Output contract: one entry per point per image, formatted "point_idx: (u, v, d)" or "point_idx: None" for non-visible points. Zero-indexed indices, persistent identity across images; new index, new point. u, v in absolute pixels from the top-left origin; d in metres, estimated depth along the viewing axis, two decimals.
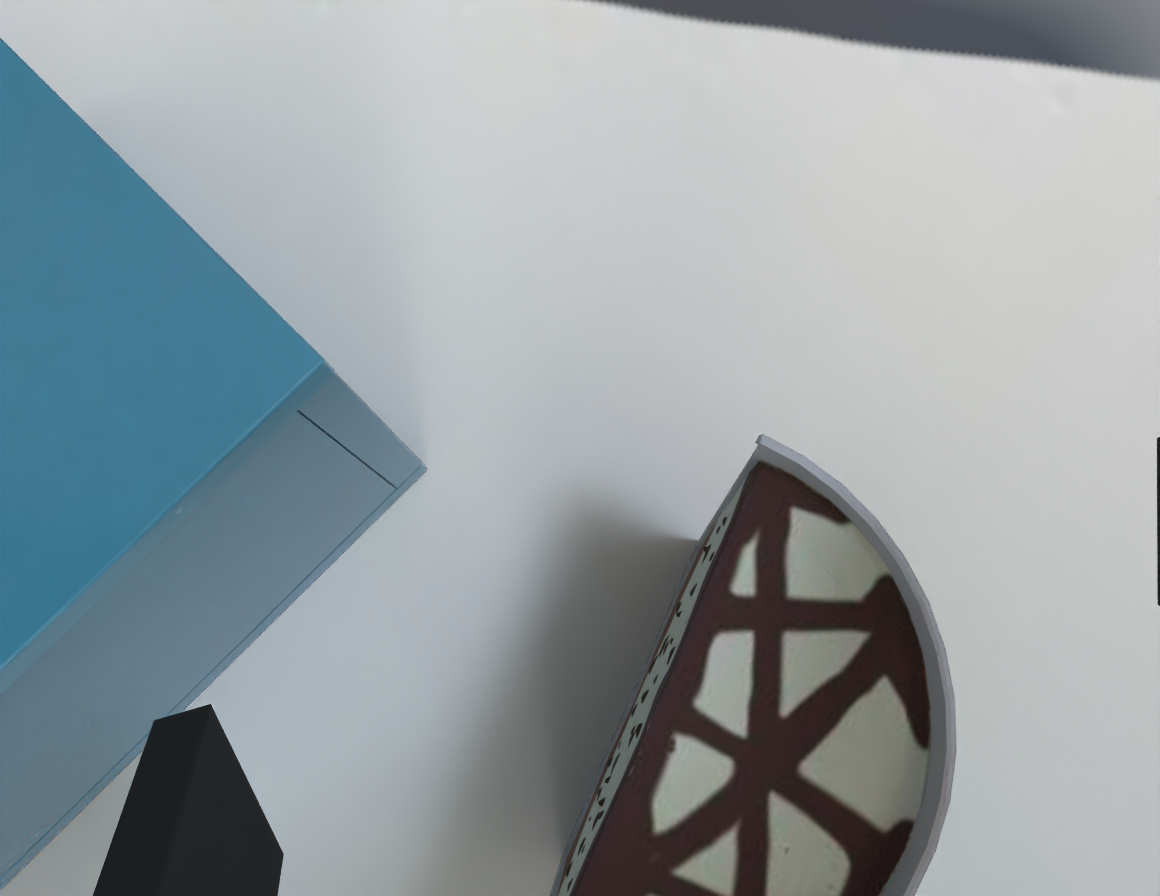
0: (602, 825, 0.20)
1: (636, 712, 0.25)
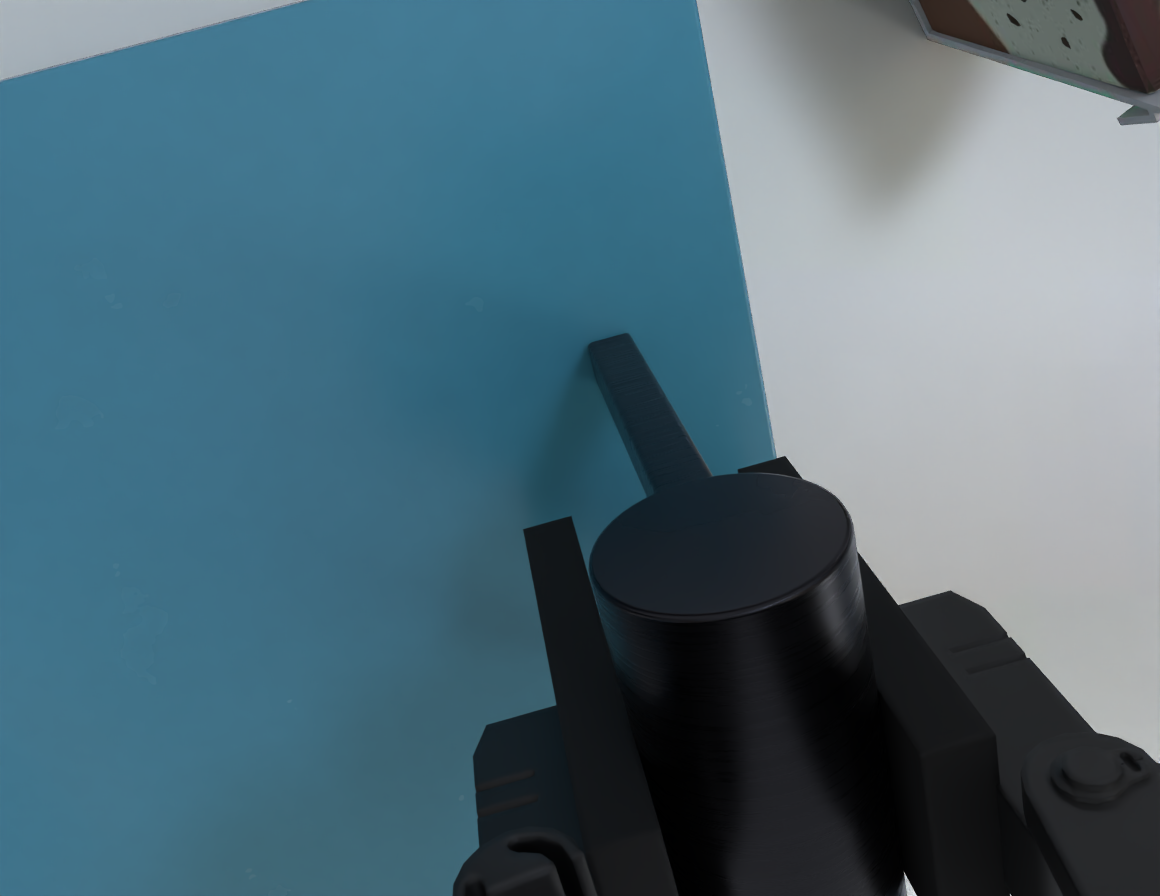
0: None
1: None
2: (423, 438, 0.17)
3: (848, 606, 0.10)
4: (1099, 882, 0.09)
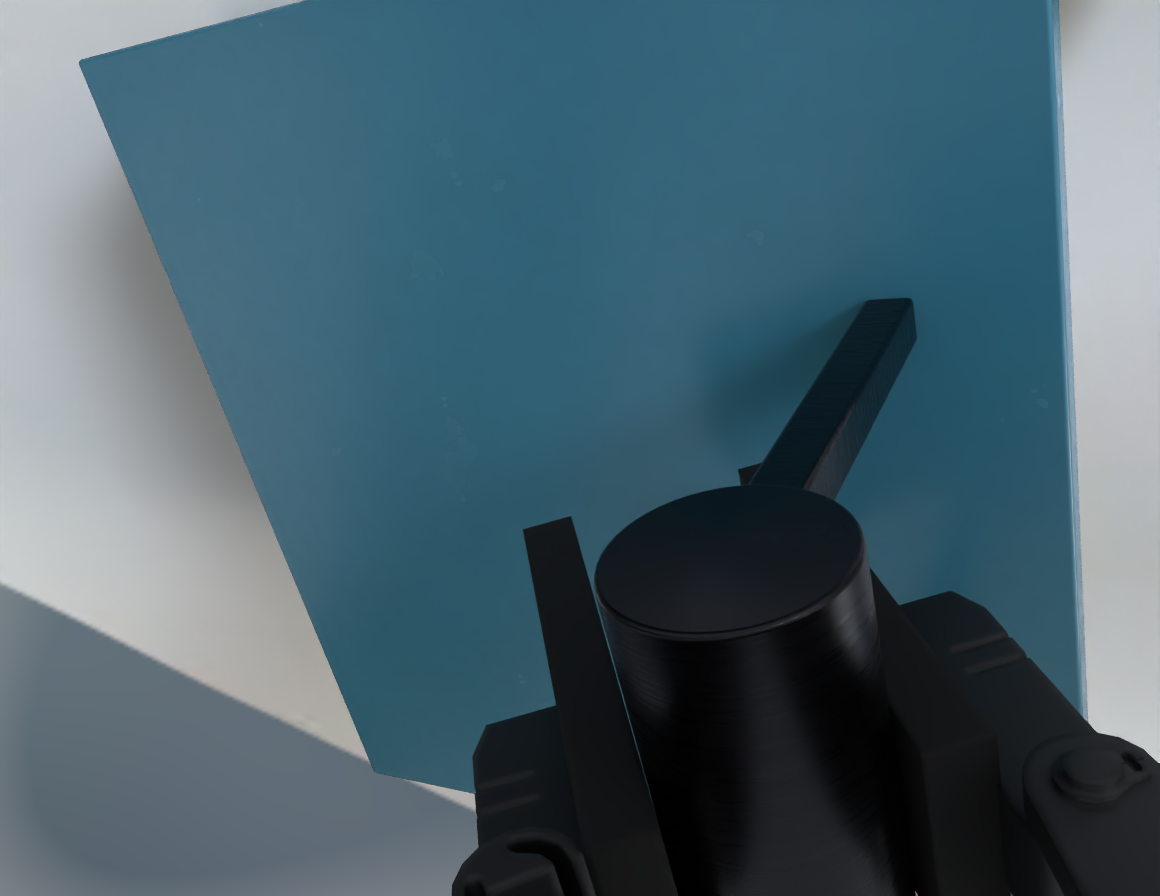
0: None
1: None
2: (693, 356, 0.17)
3: (802, 669, 0.09)
4: (1100, 882, 0.09)
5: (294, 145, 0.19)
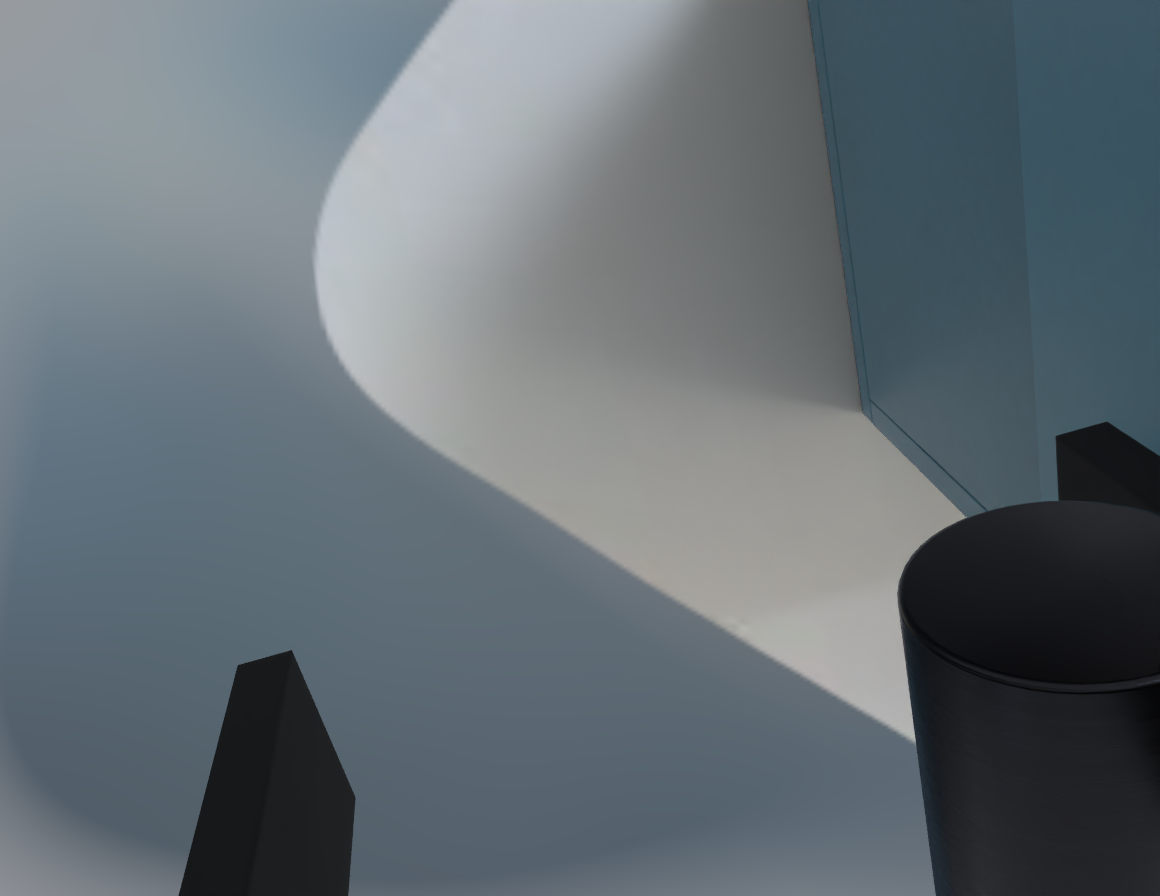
0: None
1: None
2: None
3: (1015, 738, 0.08)
4: None
5: None
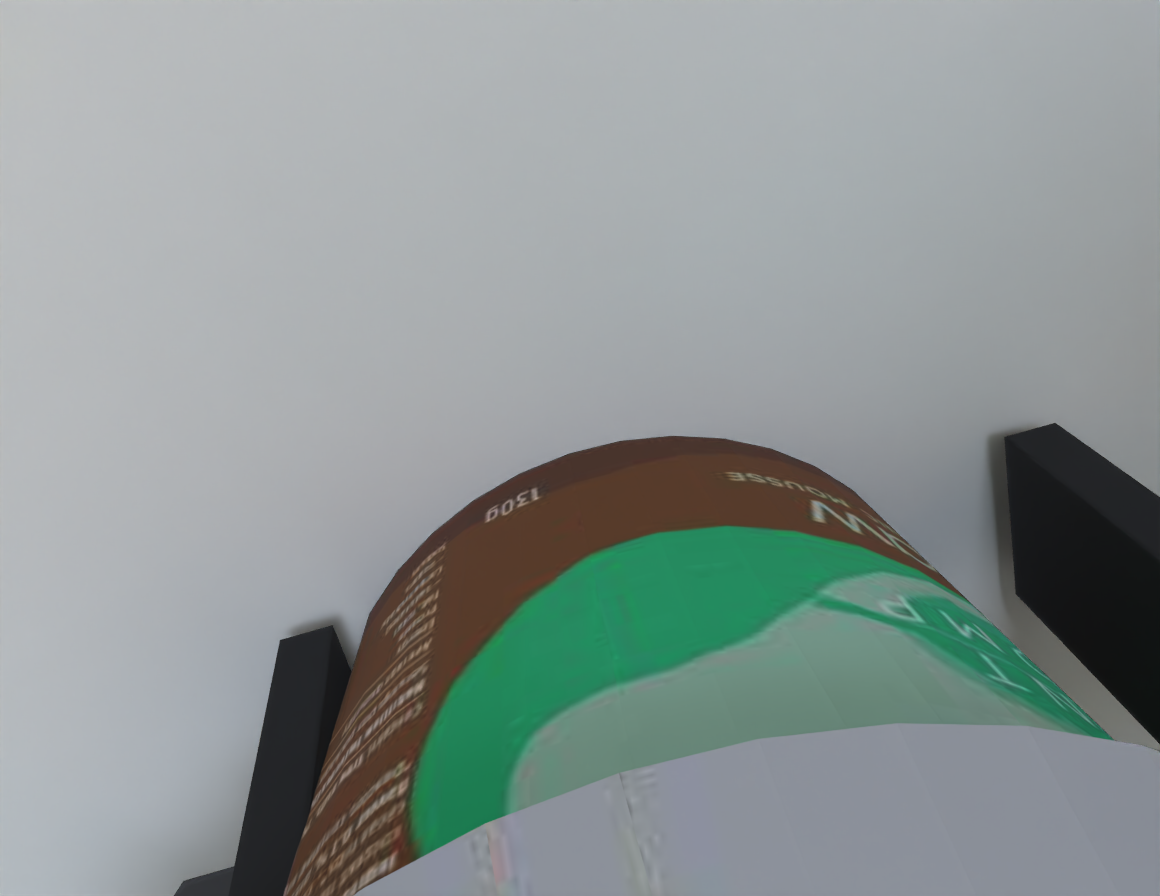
0: None
1: None
2: None
3: None
4: None
5: None
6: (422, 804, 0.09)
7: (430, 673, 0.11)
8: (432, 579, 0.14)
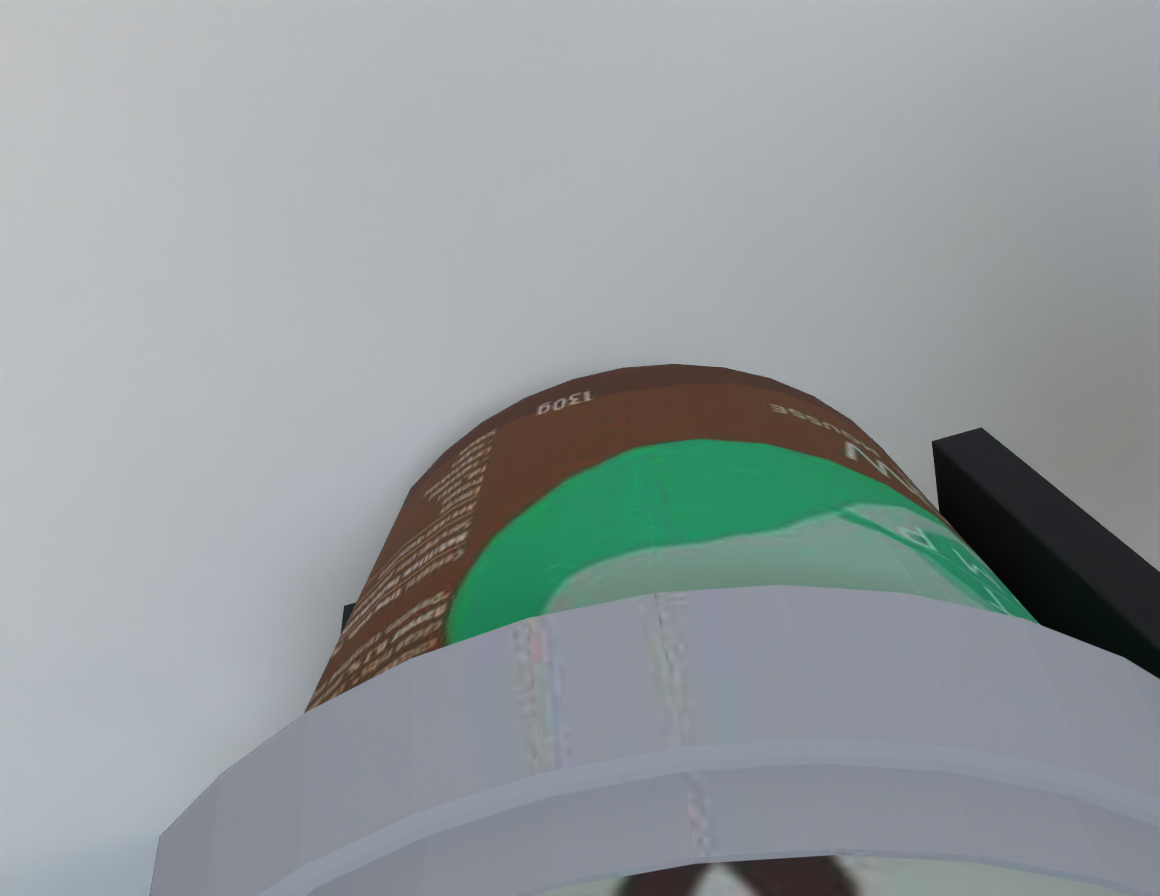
0: None
1: None
2: None
3: None
4: None
5: None
6: (458, 622, 0.10)
7: (473, 527, 0.12)
8: (480, 456, 0.15)
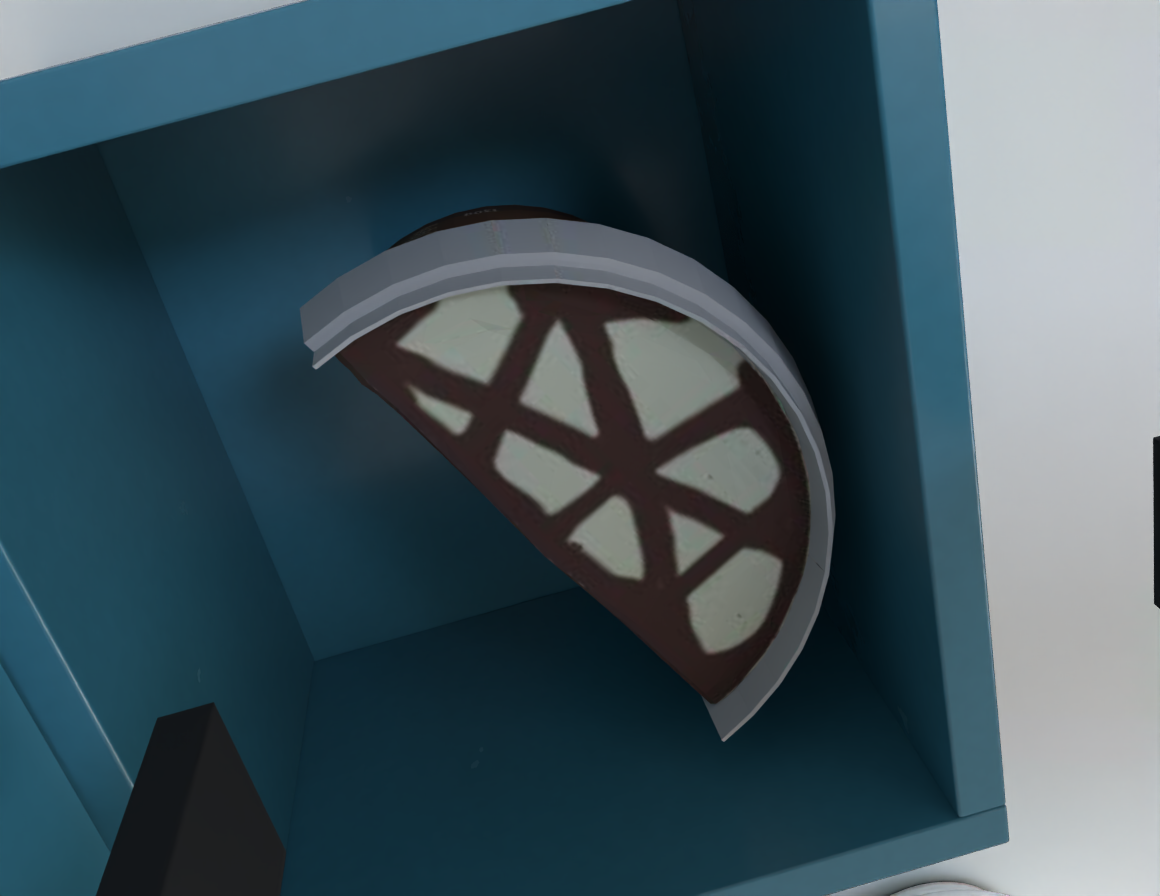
0: (614, 614, 0.21)
1: None
2: None
3: None
4: None
5: None
6: None
7: None
8: (430, 230, 0.25)
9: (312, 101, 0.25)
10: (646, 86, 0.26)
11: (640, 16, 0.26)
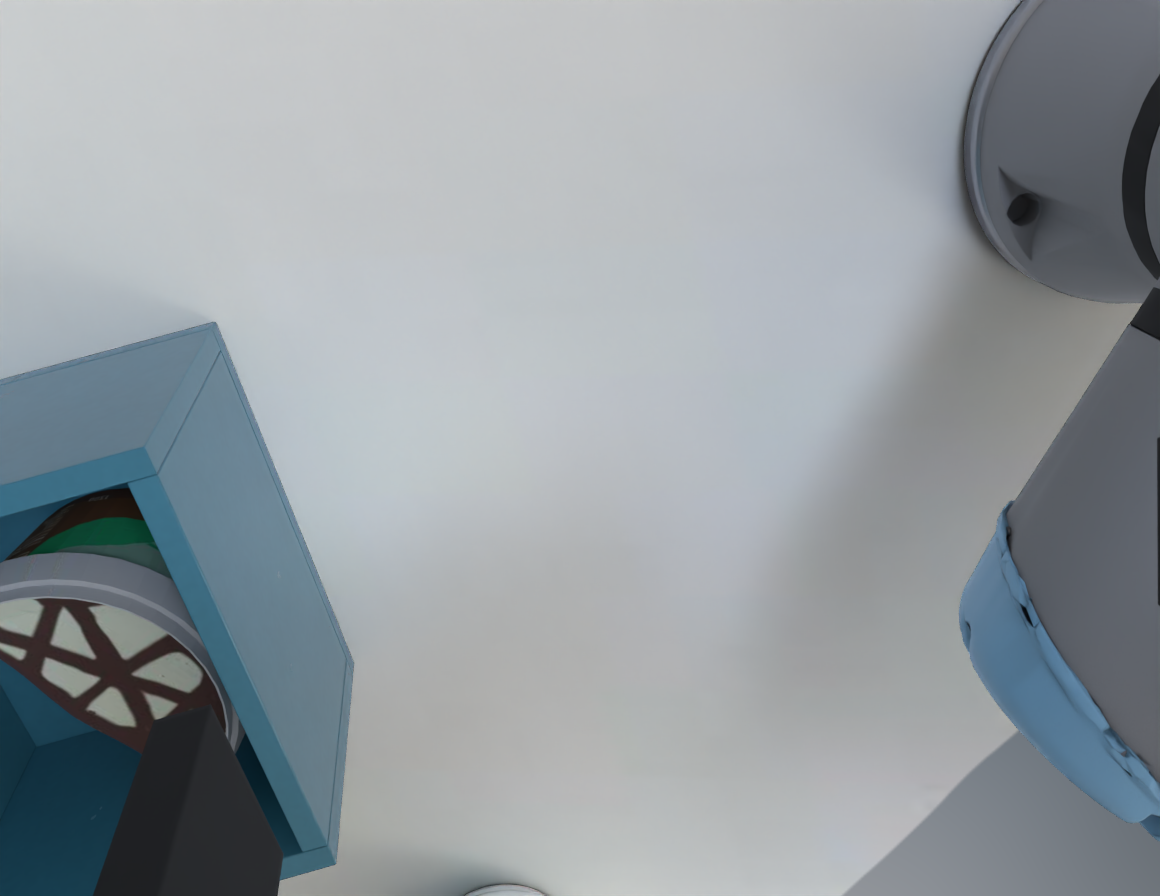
0: (125, 744, 0.40)
1: None
2: None
3: None
4: None
5: None
6: None
7: (46, 535, 0.42)
8: (63, 513, 0.44)
9: None
10: None
11: None
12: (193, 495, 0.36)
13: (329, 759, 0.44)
